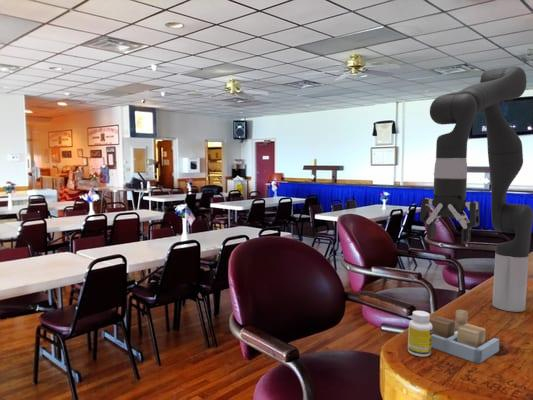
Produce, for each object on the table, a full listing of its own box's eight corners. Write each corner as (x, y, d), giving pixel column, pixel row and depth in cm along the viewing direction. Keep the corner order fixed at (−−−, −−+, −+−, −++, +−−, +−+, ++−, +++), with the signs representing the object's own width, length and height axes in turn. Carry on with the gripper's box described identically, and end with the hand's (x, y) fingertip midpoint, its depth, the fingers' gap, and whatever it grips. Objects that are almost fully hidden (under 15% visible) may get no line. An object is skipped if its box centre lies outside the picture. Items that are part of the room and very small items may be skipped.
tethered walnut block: (455, 329, 121) (456, 308, 121) (471, 334, 118) (473, 312, 117) (428, 342, 112) (429, 319, 112) (446, 348, 109) (447, 324, 108)
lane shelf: (438, 331, 119) (439, 321, 119) (498, 351, 107) (499, 339, 107) (416, 342, 112) (417, 330, 112) (478, 364, 100) (479, 351, 100)
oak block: (465, 346, 110) (466, 323, 109) (484, 352, 106) (485, 328, 106) (456, 351, 107) (457, 327, 106) (475, 358, 103) (477, 333, 103)
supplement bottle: (433, 358, 103) (434, 317, 102) (409, 356, 104) (410, 316, 103) (429, 348, 108) (431, 310, 107) (406, 346, 109) (407, 308, 108)
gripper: (486, 177, 106) (483, 243, 107) (431, 175, 116) (429, 235, 118) (472, 178, 101) (469, 247, 102) (416, 176, 111) (414, 238, 113)
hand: (447, 240), depth 110 cm, fingers open, 8 cm apart
